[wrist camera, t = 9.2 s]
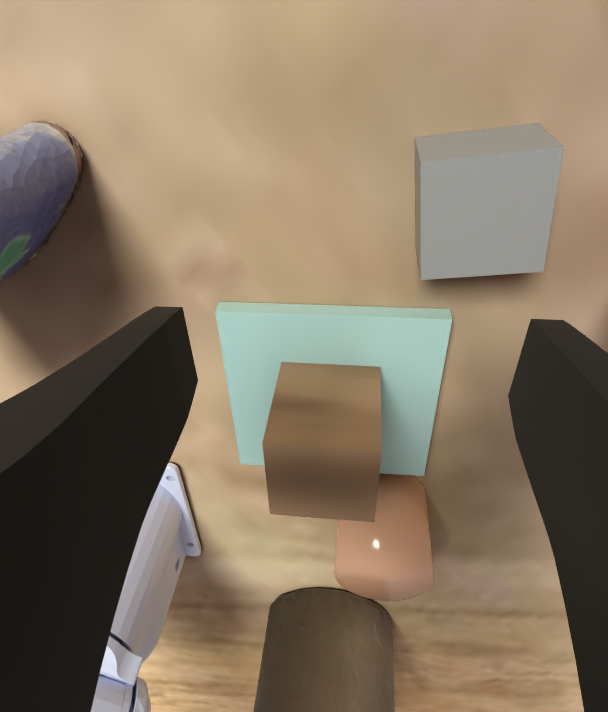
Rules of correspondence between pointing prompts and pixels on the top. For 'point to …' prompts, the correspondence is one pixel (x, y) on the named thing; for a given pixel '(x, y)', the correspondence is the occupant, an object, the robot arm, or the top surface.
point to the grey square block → (485, 201)
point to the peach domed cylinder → (388, 544)
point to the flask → (34, 189)
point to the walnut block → (324, 441)
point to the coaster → (341, 347)
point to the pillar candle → (326, 655)
